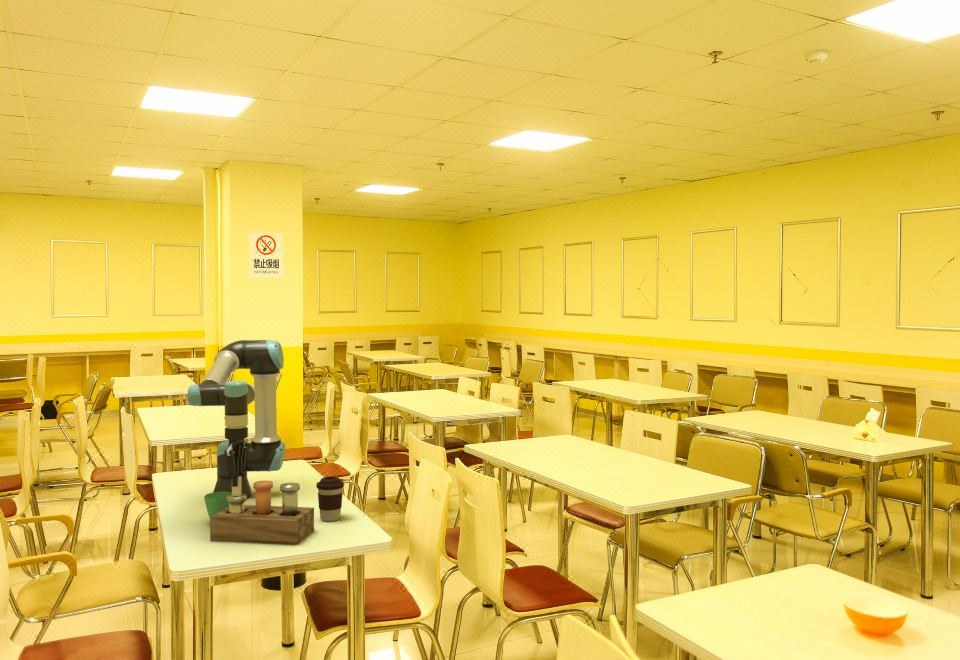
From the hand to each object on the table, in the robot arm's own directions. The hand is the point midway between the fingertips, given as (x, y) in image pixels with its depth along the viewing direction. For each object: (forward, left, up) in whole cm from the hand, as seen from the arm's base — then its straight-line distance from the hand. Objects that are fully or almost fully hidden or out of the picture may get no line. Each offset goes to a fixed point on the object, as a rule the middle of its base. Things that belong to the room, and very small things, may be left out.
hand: (236, 495), depth 247 cm
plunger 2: (0, +19, -6) cm, 20 cm away
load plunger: (0, +10, -6) cm, 11 cm away
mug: (-14, -12, -14) cm, 23 cm away
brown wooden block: (0, +10, -13) cm, 16 cm away
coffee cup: (-22, +26, -14) cm, 36 cm away
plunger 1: (0, 0, -11) cm, 11 cm away
